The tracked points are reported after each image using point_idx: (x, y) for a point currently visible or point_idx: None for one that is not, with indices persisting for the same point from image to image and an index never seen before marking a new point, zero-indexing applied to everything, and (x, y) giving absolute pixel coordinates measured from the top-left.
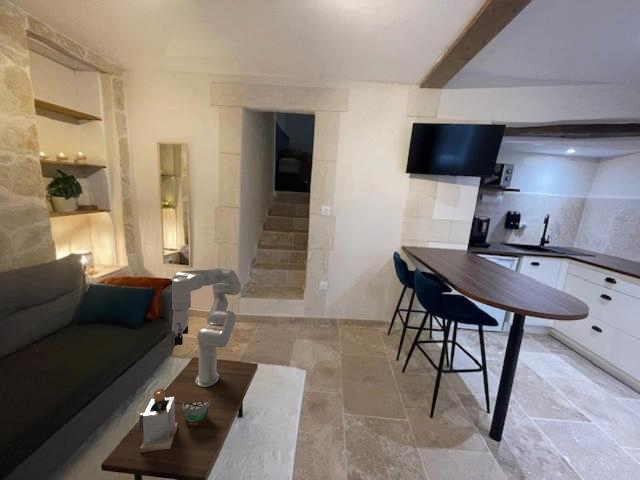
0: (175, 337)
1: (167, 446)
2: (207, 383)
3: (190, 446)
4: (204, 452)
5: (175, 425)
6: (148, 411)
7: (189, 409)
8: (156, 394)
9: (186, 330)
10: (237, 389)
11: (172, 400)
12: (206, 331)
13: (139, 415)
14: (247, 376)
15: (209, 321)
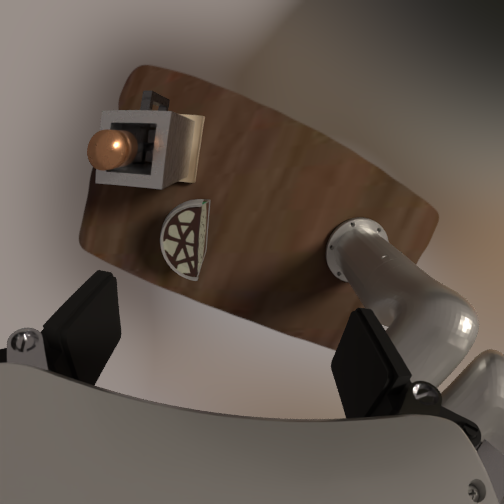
0: (24, 339)
1: None
2: (334, 252)
3: (131, 218)
4: (114, 247)
5: (184, 178)
6: (114, 120)
7: (164, 226)
8: (94, 142)
9: (343, 387)
10: (285, 321)
11: (145, 185)
12: (437, 357)
13: (143, 91)
14: (325, 344)
15: (482, 376)
